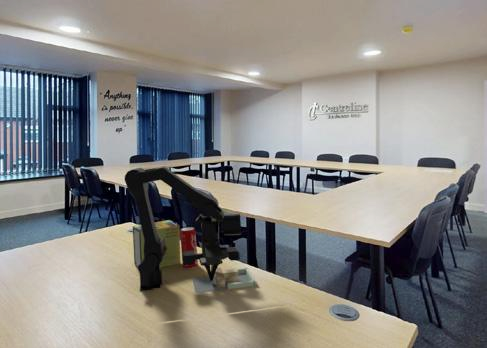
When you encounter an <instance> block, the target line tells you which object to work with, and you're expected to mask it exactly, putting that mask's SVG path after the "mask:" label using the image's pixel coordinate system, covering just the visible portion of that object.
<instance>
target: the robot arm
mask: <svg viewBox="0 0 487 348" xmlns="http://www.w3.org/2000/svg"><path fill="white" fill-rule="evenodd" d="M156 181H157V182H158V181H162V182H163V183H164V184H166V185H168V186H169V187H170V188H172V189H173V190H174V191H175V192H178V193H179V194H180V195H182V196H183V197H185V198H186V199H187V200H189V201H190V202H191V203H192V204H193V206H194V207H195V208H196V209H197V211H199V212H200V214H199V216H198V217H196V219H195V224H199V223H200V225H201V252H200V253H197V254H194V251H183V253H182V252H181V260H182V266H183V265H192V264H194V263H195V260H198V262H199V264H200V266H203V267H204V269H206V271H207V276H209V278H210V281H213V278H214V275H215V272H216V269H217V268H218V267H219V265H222V264H223V262H224V261H223V260H226V259H227V258H228V260H229V261H232V262H233V261H240V260H241V259H240V258H241V255H240V254H241V253H240V251H239V249H238V248H237V247H236V246H232V247H231V246H230V247H229V246H228V247H226V246H224V247H223V246H221V245H220V232H221V233H222V234H224V236H238V235H239V236H241V235H242V221H241V214H240V213H235V214H225V212H224V211H223V210H222V208H221V207H220V206H219V201H218V200H219V199H217V198H216V197H214V196H213V195H211V194H208V193H206V192H203V191H201V190H199V189H197V188H195V186H192V185H191V184H190V183H188V182H187V181H185V180H184V179H183V178H181V177H179V176H178V175H177V174H176V173H174V172H172V170H170V168H168V167H166V166H162V167H156V168H149V169H148V168H147V169H144V168H141V167H136V168H133V169H130V170H128V171H127V172H126V174H125V175H124V182H125V185H126V187H127V189H128V191H129V193H130V194H131V195H132V197H133V199H134V201H135V202H134V203H135V207H136V211H137V215H138V220H139V225H141V228H142V232H143V236H144V258H143V260H142V261H141V263H140V264H139V265H138V267H137V266H136V267H137V271H138V273H139V291H148V290H149V291H150V290H154V289H160V288H161V285H163V279H162V278H163V273H162V268H160V266H159V264H160V263H161V262H162V260H163V258H164V256H165V254H166V250H167V247H166V245H165V238H163V239H160V238H159V236H158V234H157V231H156V227H155V219H154V214H153V211H152V207H151V202H150V197H149V183H153V182H156ZM219 223H220V224H219Z"/></svg>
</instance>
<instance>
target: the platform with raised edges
mask: <svg viewBox="0 0 487 348" xmlns="http://www.w3.org/2000/svg"><path fill="white" fill-rule="evenodd" d="M236 269H237V271H238V282H229V283H225V287H217V284H216V281H215V278H213V281H210V278H209V275H203V276H196V277H195V276H194V277H192V284H193V287H194V288H193V289H194V291H195V294H200V293H208V292H218V291H225V290H235V289H242V288H250V287H257V283H258V281H257V280H256V278H255V277H254V275H253V274H252V272H251V271H250V269H249V268H248V267H239V268H236Z"/></svg>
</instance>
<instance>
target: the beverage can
mask: <svg viewBox="0 0 487 348" xmlns="http://www.w3.org/2000/svg"><path fill="white" fill-rule="evenodd" d="M196 235H197V234H196V230H195V227H192V226H187V227H182V228H180V251H181V254H182V253H183V251H194V254H198V250H197V249H198V248H197V246H198V245H197V238H196V237H197V236H196ZM198 262H199V260H195V263H194V264H192V265H183V264H182V267H183V269H186V270H190V269H191V270H192V269H195V268H197V267H198V266H199V263H198Z"/></svg>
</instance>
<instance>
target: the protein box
mask: <svg viewBox="0 0 487 348" xmlns="http://www.w3.org/2000/svg"><path fill="white" fill-rule="evenodd" d="M154 222H155V221H154ZM155 227H156V231H157V234H158V236H159V238H160V239H163V238H165V245H166V247H167V250H166V254H165V256H164V258H163V260H162V262H161V263H160V264H159V266H160V269H162V268H164V267H169V266H173V265H181V238H180V232H181V228H180V224H178V223H176V222H174V221H172V220H170V219H167V220H162V221H156V222H155ZM132 239H133V259H134V260H133V262H134V265H135V266H136V267H138V265H139V264H140V263H141V261H142V260H143V258H144V236H143V232H142V228H141V224H136V225H133V226H132Z"/></svg>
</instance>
